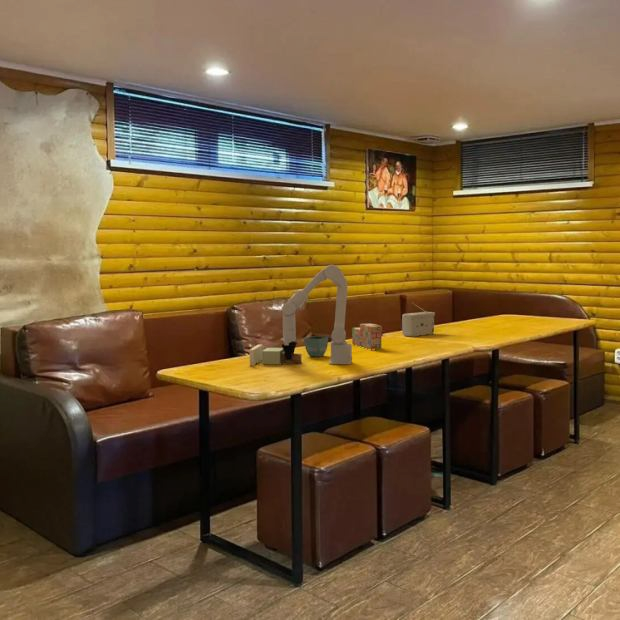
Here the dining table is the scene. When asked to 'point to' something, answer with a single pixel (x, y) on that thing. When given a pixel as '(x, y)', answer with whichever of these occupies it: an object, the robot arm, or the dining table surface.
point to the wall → (255, 354)
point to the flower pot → (316, 345)
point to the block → (272, 355)
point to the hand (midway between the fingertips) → (289, 358)
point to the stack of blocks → (367, 336)
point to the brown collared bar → (294, 360)
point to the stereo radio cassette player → (418, 323)
